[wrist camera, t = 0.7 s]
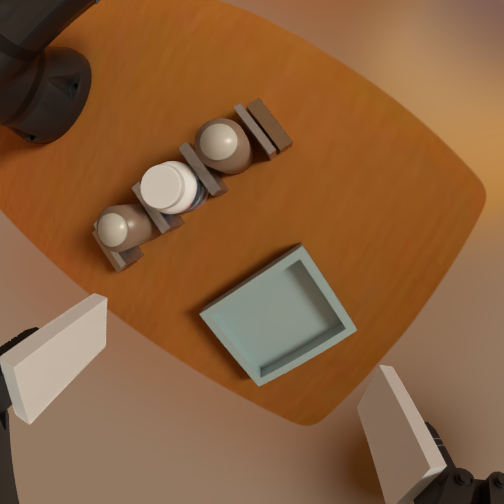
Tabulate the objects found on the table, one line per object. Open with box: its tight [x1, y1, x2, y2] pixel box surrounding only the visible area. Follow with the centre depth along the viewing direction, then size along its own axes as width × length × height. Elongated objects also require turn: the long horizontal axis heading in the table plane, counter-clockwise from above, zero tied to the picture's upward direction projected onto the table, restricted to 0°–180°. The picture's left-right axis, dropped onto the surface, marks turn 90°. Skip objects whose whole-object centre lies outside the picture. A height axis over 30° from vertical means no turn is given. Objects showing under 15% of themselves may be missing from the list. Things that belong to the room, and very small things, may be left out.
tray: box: [199, 243, 357, 386], centre depth 35 cm, size 12×14×2 cm
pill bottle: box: [140, 161, 209, 214], centre depth 30 cm, size 5×5×9 cm
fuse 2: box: [194, 118, 254, 175], centre depth 28 cm, size 5×5×9 cm
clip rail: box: [92, 98, 293, 273], centre depth 31 cm, size 6×25×5 cm, turn 125°
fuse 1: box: [97, 203, 161, 252], centre depth 31 cm, size 5×5×9 cm
